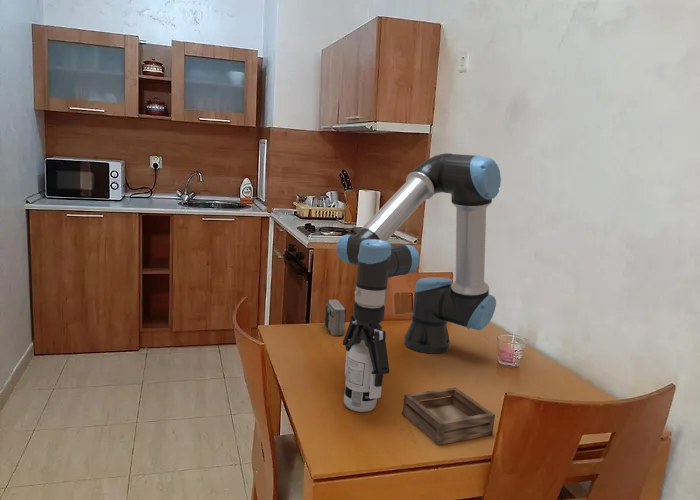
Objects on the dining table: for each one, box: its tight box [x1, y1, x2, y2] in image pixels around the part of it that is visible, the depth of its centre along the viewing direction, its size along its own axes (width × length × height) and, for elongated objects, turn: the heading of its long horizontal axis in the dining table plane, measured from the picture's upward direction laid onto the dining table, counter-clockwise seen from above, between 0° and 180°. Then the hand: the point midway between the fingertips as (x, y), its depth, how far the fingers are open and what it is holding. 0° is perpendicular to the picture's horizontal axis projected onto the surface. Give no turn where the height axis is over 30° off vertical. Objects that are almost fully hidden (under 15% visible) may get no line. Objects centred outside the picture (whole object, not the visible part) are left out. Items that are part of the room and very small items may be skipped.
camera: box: [324, 299, 347, 337], centre depth 193 cm, size 11×6×10 cm, turn 14°
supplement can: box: [343, 344, 378, 413], centre depth 139 cm, size 8×8×15 cm
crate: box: [401, 387, 496, 446], centre depth 134 cm, size 15×15×5 cm
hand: (361, 386), depth 139 cm, fingers open, 13 cm apart
